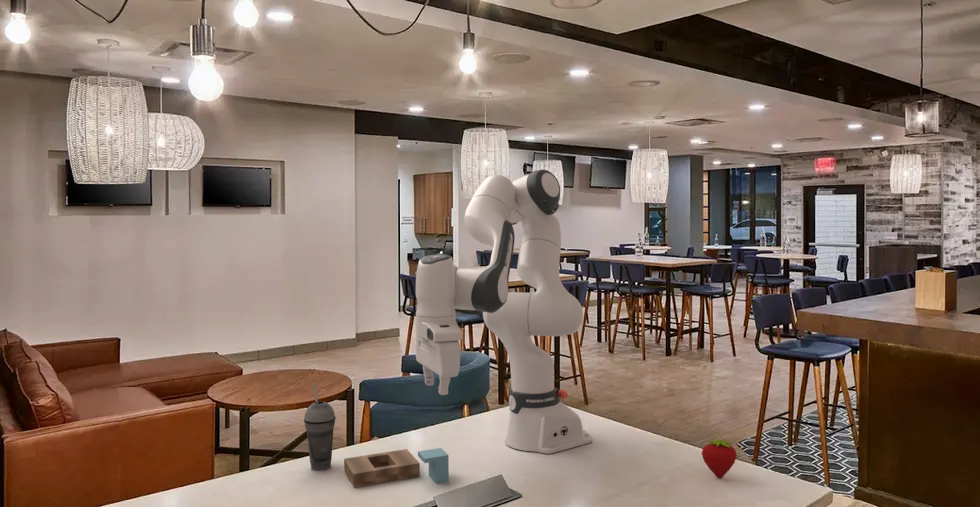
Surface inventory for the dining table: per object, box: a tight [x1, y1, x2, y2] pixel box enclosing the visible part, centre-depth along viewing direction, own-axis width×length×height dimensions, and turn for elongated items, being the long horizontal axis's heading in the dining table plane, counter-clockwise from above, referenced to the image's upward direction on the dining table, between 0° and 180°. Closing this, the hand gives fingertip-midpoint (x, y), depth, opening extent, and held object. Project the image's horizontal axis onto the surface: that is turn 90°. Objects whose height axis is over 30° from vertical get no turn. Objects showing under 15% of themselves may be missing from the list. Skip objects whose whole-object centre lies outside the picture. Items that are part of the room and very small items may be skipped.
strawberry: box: [701, 432, 738, 479], centre depth 147 cm, size 6×8×10 cm
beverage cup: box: [303, 382, 337, 472], centre depth 155 cm, size 7×7×20 cm
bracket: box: [417, 447, 450, 484], centre depth 148 cm, size 6×5×6 cm
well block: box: [343, 448, 421, 488], centre depth 151 cm, size 15×10×3 cm, turn 114°
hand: (436, 389), depth 147 cm, fingers open, 8 cm apart
